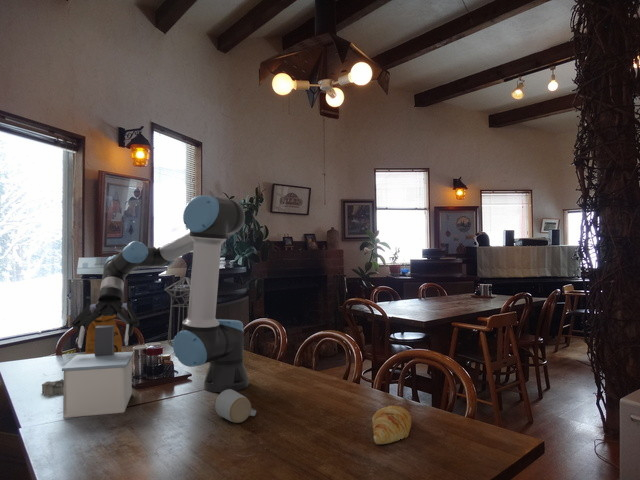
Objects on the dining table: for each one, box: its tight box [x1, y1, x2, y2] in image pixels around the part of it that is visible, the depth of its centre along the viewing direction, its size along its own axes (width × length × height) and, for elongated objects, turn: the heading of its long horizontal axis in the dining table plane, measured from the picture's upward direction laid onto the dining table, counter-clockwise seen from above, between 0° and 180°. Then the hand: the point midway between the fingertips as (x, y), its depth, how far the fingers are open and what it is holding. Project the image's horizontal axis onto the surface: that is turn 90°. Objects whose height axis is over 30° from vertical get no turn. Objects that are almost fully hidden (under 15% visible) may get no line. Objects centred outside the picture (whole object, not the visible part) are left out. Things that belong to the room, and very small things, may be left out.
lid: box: [61, 325, 135, 372], centre depth 142 cm, size 18×17×10 cm
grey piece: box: [41, 378, 64, 397], centre depth 156 cm, size 11×8×4 cm
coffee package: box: [85, 315, 123, 354], centre depth 184 cm, size 10×12×22 cm
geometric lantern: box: [164, 277, 191, 348], centre depth 218 cm, size 16×16×35 cm
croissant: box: [371, 404, 412, 445], centre depth 119 cm, size 21×10×8 cm, turn 153°
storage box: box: [62, 357, 133, 418], centre depth 141 cm, size 18×16×13 cm
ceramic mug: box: [214, 389, 257, 424], centre depth 130 cm, size 11×8×8 cm
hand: (103, 344), depth 147 cm, fingers open, 13 cm apart
